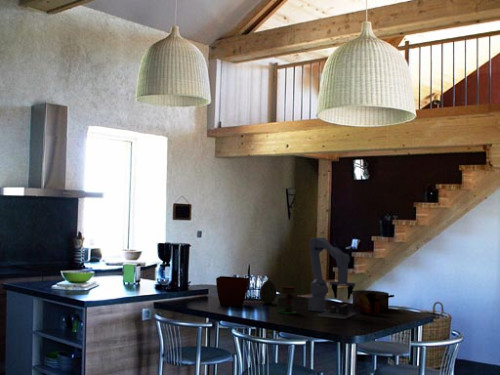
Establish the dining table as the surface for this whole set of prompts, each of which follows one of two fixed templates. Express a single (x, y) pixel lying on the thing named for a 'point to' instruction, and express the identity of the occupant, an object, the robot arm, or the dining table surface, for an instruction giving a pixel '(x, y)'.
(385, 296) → the cooking pot
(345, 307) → the breaker
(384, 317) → the dining table surface
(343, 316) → the breaker panel
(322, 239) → the robot arm
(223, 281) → the plant pot
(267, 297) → the decorative egg
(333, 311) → the breaker
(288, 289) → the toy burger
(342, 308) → the breaker
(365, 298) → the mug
